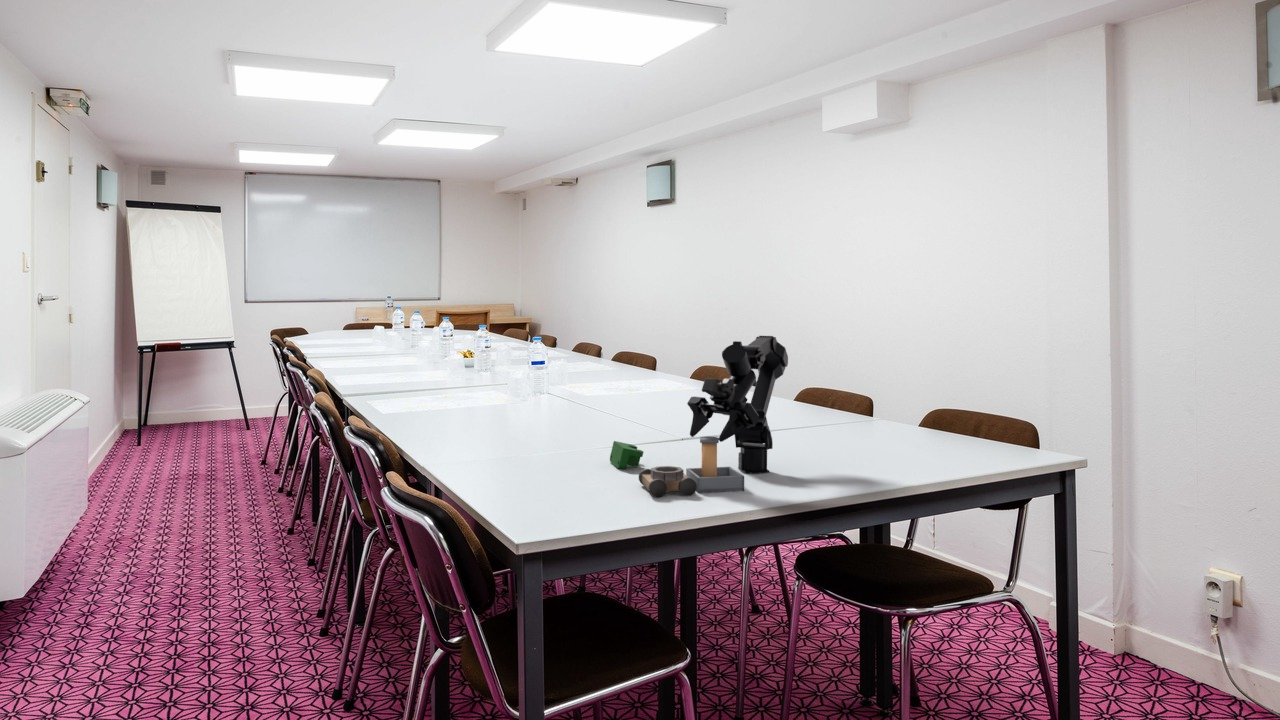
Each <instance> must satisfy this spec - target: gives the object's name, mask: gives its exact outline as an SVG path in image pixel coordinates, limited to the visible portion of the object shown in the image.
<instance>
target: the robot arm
mask: <svg viewBox="0 0 1280 720" xmlns="http://www.w3.org/2000/svg"><path fill="white" fill-rule="evenodd" d="M721 357H722V360H723V363H724V366H725V368H726V372H727V374H728V375H729V378H723V379H717V378H708V377H706V378H704V381H703V384H702V387H701V392H703V393H706V394H708V395H709V399H710V401H712V402H713V403H710V402H709V401H708V399H706V397H704V396H703V397H701V396H691V397H690V398H689V400H688V401H687V403H686V405H687V406H688V407H689V408H690V410H691V411H692V421H691V425H690V431H689V436H690V437H691V438H694V437H695V436H696V435H697V434H699V432H701V430H702V429H703V428H705V426H706V425H707V424H709V422H710V419H711V418H712V417H713V415H714V414H719V415H723V416H728V421H727V422H726V424H725V426H724V427H723V429H722V431H721V432H720V433H719V437H718V438H719V442H721V443H722V442H724V441H726V440H728V439H729V438H731V437H733V436H734V441H735V448H737V449H738V448H740V452H738V464H737V465H738V467H737V470H740V471H741V472H742V473H744V474H764V473H766V474H767V473H770V469H768V450H773V442H774V441H773V437H772V431H771V429H770V426H769V423H768V419H767V413H768V409H769V406H770V405H769V404H770V401H771V399H772V394H773V391H774V388H775V387H774V386H775V382H776V380H778V379H779V378H780V377H781V376H783V375H784V373H785V370H786V368H787V367H788V364H789V357H788V352H787V350H786V347H785V346H783V345H782V344H781V343H779V342H778V340H777V337H775V336H773V335H758V336H756V337H755V339H754V340H753V341H751V342H750V343H748V345H743V343H742V341H736V340H735V341H732V344H731V345H728V346H727V347H725V348H724V349H723V351H721ZM754 370H757V372H758V376H756V373H755V371H754ZM752 387H754V390H753V393H752V397H751V401H750V402H748V398H747V394H748V393H749V391H750V390H751V388H752Z"/></svg>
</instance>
